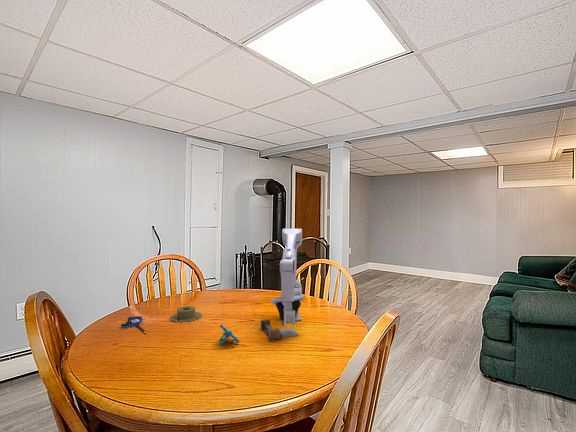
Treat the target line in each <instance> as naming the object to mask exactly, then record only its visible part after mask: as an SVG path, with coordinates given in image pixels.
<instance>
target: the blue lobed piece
mask: <svg viewBox="0 0 576 432" xmlns="http://www.w3.org/2000/svg"><path fill="white" fill-rule="evenodd" d="M219 328H221V329H222V330H223V332H222V335H221V336H220V338H219V340H220V342H219V344H220V345H221V346H222V345H223V344H224V343H225V342H226V340H227V339H229V338H232V339H233V340H234V341H235V342H237V343H239V342H240V340H239V338H238V337H237V336H235V335H234V334H233V332H232V330H229V329H228V328H226V327H225V326H224V325H223V324H219Z"/></svg>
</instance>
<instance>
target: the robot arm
mask: <svg viewBox="0 0 576 432" xmlns="http://www.w3.org/2000/svg"><path fill="white" fill-rule="evenodd" d="M281 239H282V244H283V246H285V248H284V249H283V251H282V257H281V258H282V259H281V260H280V262H279V272H280V282H281V283H280V286H281V287H280V290H281V292H280V296H278V297H273V298H272V297H271V298H270V303H271V304H272V305H275V306H276V308H277V311H278V314H279V320H280V322H281V321H283V311H284V309H287V308H292V309H294V310H295V322H296V321H302V320H303V318H302V317H300V307H301V305H302V303H301V302H304V301H305V296H304V295H303V293H302V292H303V289H302V284H301V282H300V281H298V280H297V256H298V255H297V254H298V253H297V251H298V248H299V247H301V246H302V244H303V229H302V228H282V230H281ZM289 319H290V314H287V315H286V323H287V322H289ZM289 323H290V322H289Z"/></svg>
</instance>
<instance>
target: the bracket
mask: <svg viewBox="0 0 576 432" xmlns="http://www.w3.org/2000/svg"><path fill="white" fill-rule="evenodd" d="M287 314H290V319H289V324H291V325H292V326H296V321H295V310H294V309H292V308H287V309H284V311H283V321H281V320H280V325H281V326H283V327H284V328H286V327H287V321H286V315H287Z"/></svg>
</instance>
